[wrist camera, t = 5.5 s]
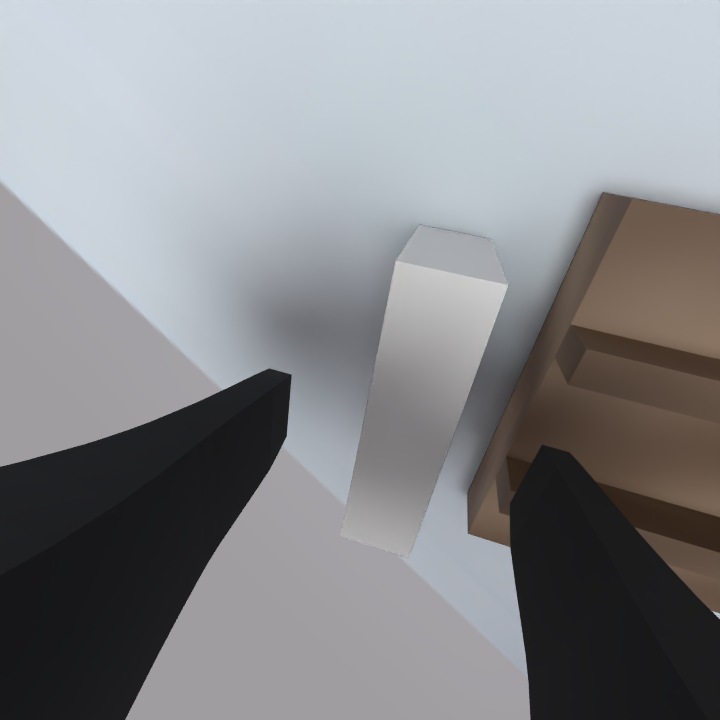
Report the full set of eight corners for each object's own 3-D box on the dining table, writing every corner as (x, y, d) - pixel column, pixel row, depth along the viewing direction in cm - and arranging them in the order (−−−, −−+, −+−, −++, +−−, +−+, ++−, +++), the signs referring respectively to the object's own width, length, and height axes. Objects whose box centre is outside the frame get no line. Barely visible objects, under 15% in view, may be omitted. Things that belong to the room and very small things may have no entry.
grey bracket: (423, 453, 16) (408, 558, 11) (372, 438, 16) (340, 536, 12) (491, 239, 11) (508, 285, 7) (419, 224, 11) (395, 260, 7)
